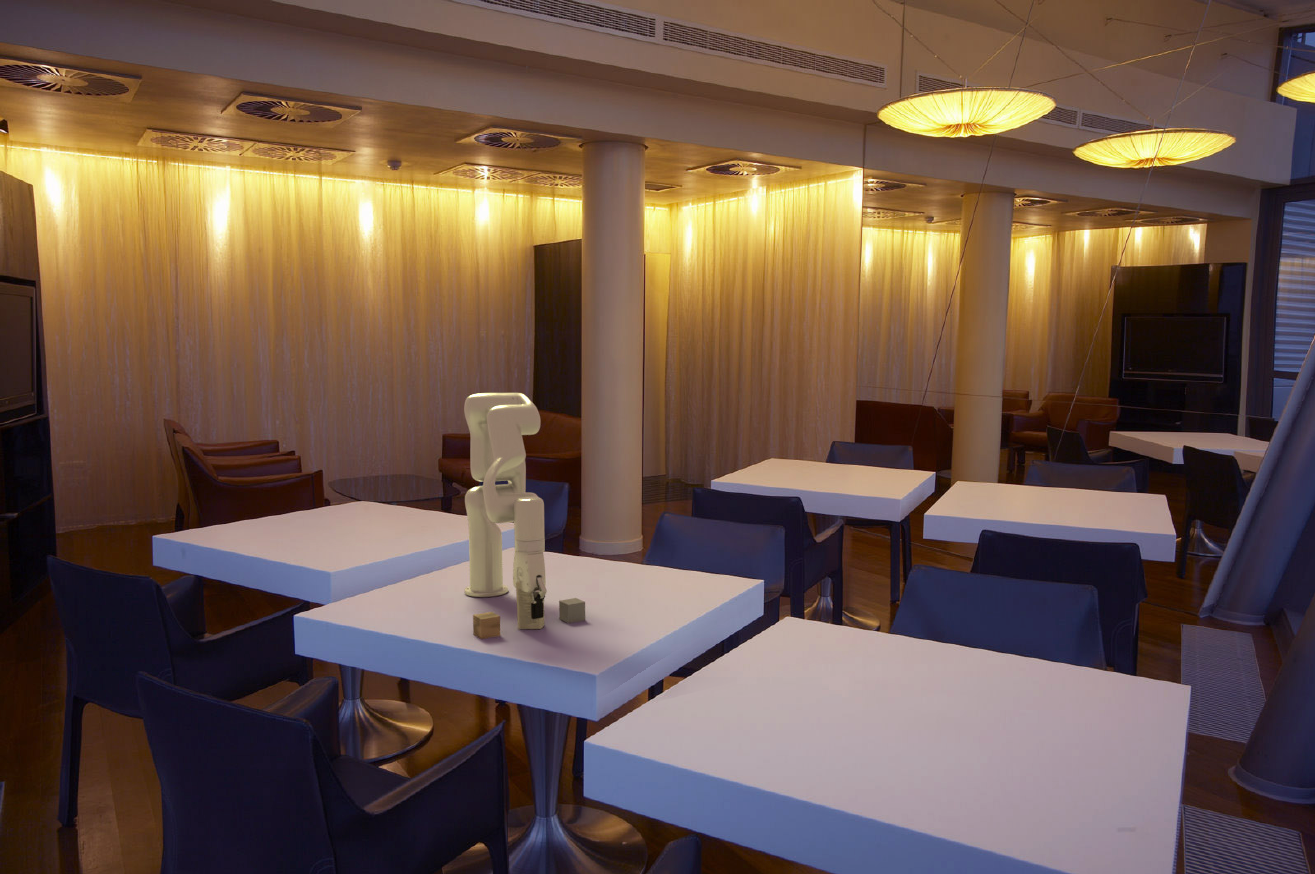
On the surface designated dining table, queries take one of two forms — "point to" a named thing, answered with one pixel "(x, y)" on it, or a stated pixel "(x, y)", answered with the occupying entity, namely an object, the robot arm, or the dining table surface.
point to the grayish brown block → (572, 610)
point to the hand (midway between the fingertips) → (530, 614)
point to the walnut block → (486, 625)
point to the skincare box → (526, 610)
